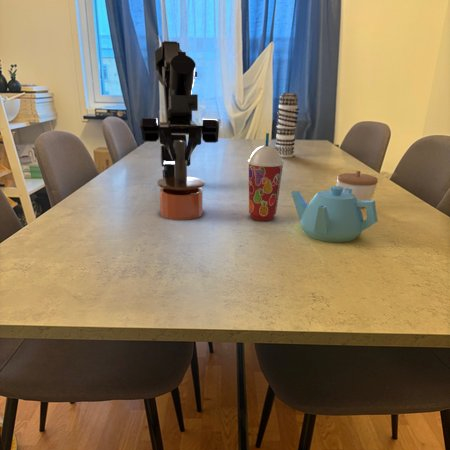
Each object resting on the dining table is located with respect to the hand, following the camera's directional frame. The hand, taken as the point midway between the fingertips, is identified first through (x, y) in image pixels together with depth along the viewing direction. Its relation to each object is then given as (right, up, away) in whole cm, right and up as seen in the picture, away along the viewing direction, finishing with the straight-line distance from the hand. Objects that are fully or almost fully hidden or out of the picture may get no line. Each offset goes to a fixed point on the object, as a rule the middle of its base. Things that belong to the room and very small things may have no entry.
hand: (180, 160), depth 103 cm
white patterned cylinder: (+37, +31, +89) cm, 101 cm away
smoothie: (+20, -13, +6) cm, 25 cm away
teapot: (+35, -18, -4) cm, 39 cm away
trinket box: (+47, -7, +19) cm, 51 cm away
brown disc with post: (0, -5, +4) cm, 6 cm away
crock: (0, -11, +7) cm, 13 cm away
